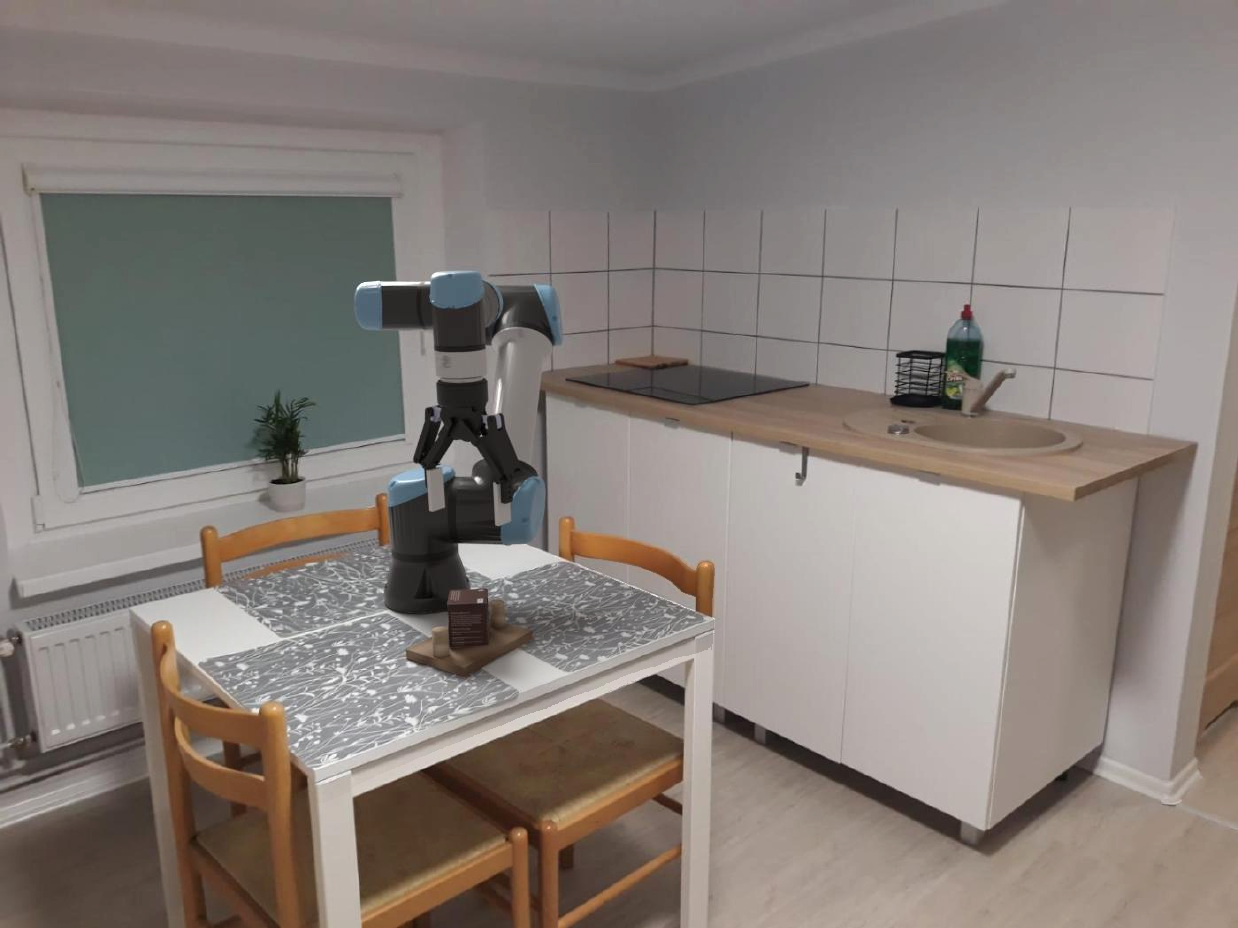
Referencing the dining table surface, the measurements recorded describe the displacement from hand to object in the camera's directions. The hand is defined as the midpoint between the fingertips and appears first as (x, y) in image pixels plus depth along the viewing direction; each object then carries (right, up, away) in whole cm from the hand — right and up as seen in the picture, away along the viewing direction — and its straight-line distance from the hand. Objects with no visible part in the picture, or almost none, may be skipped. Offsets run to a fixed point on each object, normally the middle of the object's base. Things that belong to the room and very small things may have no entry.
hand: (469, 516), depth 150 cm
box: (0, -20, +3) cm, 20 cm away
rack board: (0, -21, +4) cm, 21 cm away
